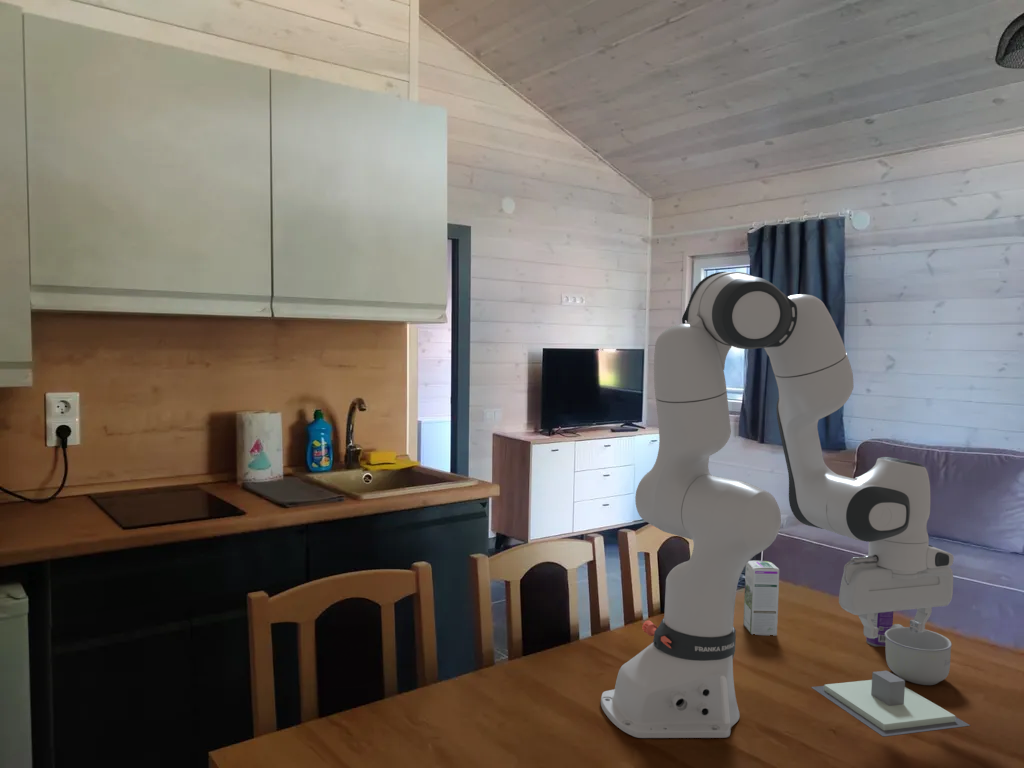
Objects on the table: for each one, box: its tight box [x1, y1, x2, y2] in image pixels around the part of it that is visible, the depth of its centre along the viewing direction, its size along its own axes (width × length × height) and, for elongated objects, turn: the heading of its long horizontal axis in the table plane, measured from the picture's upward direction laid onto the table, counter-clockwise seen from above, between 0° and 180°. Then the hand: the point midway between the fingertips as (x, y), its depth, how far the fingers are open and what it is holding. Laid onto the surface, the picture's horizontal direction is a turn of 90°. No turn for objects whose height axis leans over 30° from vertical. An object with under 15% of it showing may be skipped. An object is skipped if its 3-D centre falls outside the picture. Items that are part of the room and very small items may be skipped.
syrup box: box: [742, 560, 780, 637], centre depth 157 cm, size 6×6×14 cm
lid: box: [823, 670, 956, 731], centre depth 123 cm, size 14×14×5 cm
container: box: [865, 611, 894, 647], centre depth 152 cm, size 5×5×15 cm
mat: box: [811, 685, 971, 737], centre depth 124 cm, size 17×17×1 cm
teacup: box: [885, 623, 953, 686], centre depth 137 cm, size 14×11×8 cm
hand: (894, 634), depth 123 cm, fingers open, 8 cm apart
